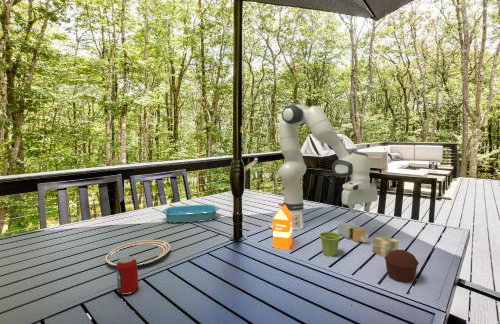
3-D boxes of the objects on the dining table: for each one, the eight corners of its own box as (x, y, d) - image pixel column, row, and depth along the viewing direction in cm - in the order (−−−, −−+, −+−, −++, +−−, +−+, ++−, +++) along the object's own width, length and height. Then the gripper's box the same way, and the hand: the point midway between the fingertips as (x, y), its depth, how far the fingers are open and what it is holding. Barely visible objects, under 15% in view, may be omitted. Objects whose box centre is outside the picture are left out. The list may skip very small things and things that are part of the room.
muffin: (402, 287, 99) (403, 260, 98) (377, 273, 109) (377, 249, 108) (425, 280, 104) (426, 254, 103) (398, 267, 114) (399, 243, 113)
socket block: (384, 257, 123) (385, 243, 122) (372, 251, 129) (372, 238, 129) (398, 254, 126) (398, 240, 125) (385, 248, 132) (385, 235, 132)
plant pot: (340, 250, 131) (341, 232, 130) (340, 259, 122) (340, 240, 121) (320, 248, 134) (320, 230, 133) (318, 256, 125) (318, 237, 124)
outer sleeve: (348, 239, 144) (349, 228, 144) (338, 234, 151) (338, 224, 151) (359, 237, 147) (359, 226, 146) (348, 232, 154) (349, 222, 154)
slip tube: (362, 244, 137) (362, 232, 137) (336, 232, 155) (336, 221, 154) (369, 242, 139) (369, 231, 138) (343, 231, 156) (343, 220, 156)
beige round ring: (106, 278, 110) (105, 270, 109) (105, 252, 134) (105, 246, 134) (176, 262, 122) (176, 255, 122) (164, 241, 147) (164, 235, 146)
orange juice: (273, 248, 135) (272, 207, 133) (277, 241, 144) (277, 203, 142) (288, 250, 133) (288, 209, 131) (292, 243, 141) (292, 204, 139)
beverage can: (122, 286, 103) (120, 255, 102) (141, 285, 104) (139, 254, 102) (115, 297, 96) (112, 263, 95) (135, 295, 97) (133, 262, 96)
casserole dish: (217, 212, 200) (217, 202, 200) (221, 221, 179) (220, 211, 178) (164, 216, 193) (164, 206, 192) (161, 226, 171) (160, 215, 170)
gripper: (371, 181, 146) (370, 207, 148) (339, 185, 139) (339, 212, 140) (380, 183, 141) (380, 210, 142) (348, 187, 133) (348, 215, 134)
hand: (360, 211), depth 141 cm, fingers open, 8 cm apart
